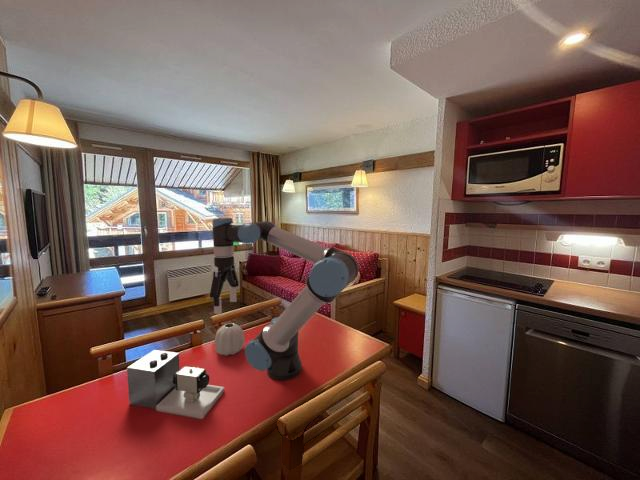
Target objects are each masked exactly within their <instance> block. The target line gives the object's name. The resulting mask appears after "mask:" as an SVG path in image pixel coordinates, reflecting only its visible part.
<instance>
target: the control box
mask: <svg viewBox="0 0 640 480" xmlns="http://www.w3.org/2000/svg"><path fill="white" fill-rule="evenodd" d="M179 370H181V369H180V353H179V352H174V351H165V350H157V349H153V350H152V351H150V352H149V353H147V354H145V355H143V356H142V357H141V358H140V359H137V360H136V361H135V362H133V363H132V364H129V366H128V367H126V373H127V388H128V401H129V405H130V406H138V407H142V408H143V407H144V408H148V409H152V410H153V409H154V410H156V405H158V404H159V403H160V402H161V401H162V400H163V399H164V398H165V397H166V396H167V395H168V394H169V393H171V392H172V391H173V390H174V389H175V388H176V384H173V377H174V375H175V373H176V372H177V371H179Z"/></svg>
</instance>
